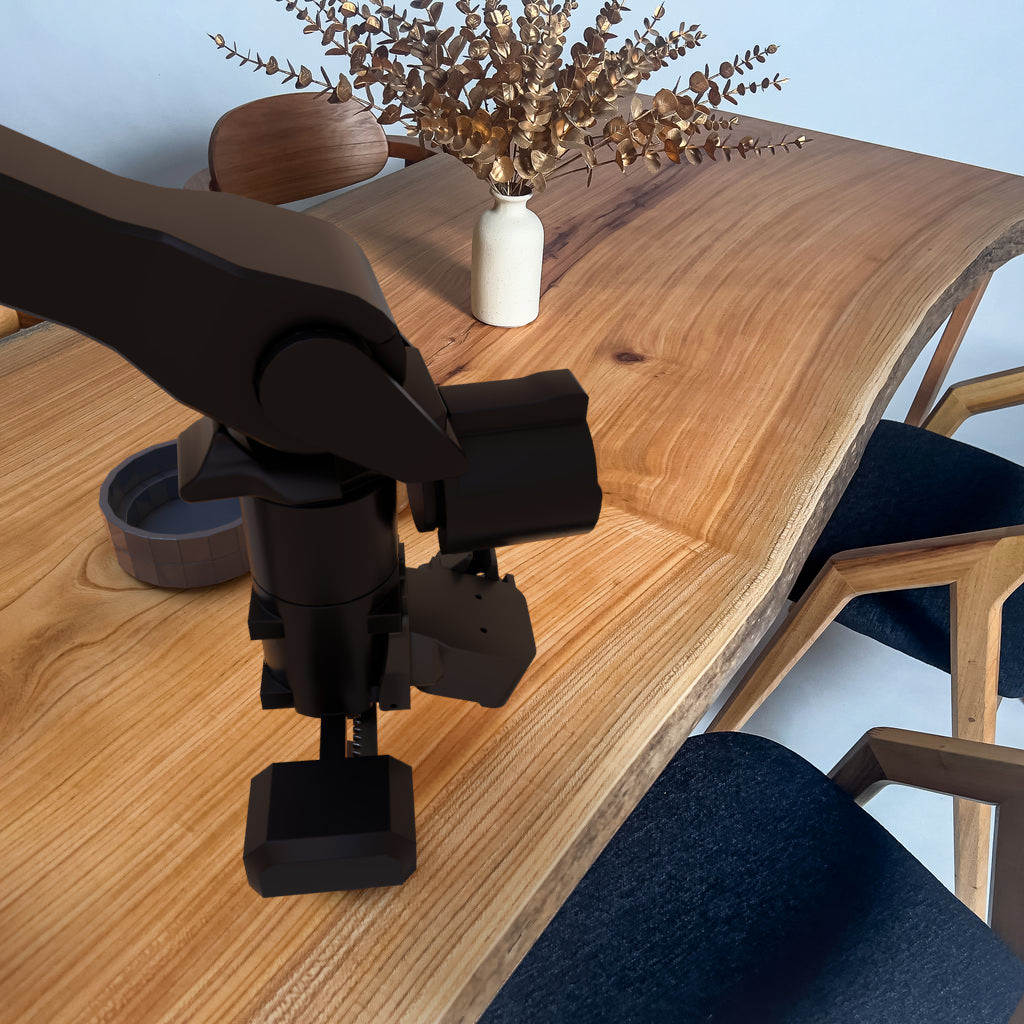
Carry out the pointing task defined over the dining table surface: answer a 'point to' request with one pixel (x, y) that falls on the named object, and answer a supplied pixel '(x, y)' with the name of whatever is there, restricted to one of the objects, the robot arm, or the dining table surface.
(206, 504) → the bowl
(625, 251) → the dining table surface
